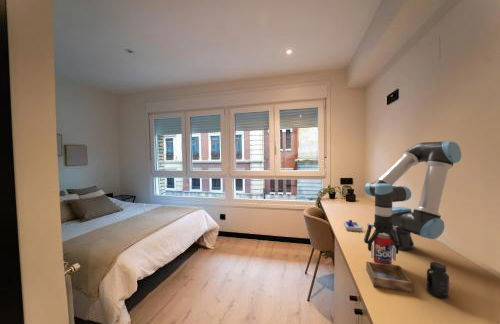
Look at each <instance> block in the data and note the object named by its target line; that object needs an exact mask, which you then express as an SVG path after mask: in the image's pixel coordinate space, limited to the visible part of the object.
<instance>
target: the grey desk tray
mask: <svg viewBox="0 0 500 324" xmlns="http://www.w3.org/2000/svg"><path fill="white" fill-rule="evenodd" d="M348 223H349V220H344V221H343V226H344V227H345V228H344V229H345V231H346V232H347V231H348V232H358V233H362V231H363V230H362V229H363V228H362V226H361V224H360V223H359V221H352V225H354V227H348Z"/></svg>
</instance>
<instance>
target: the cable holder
mask: <svg viewBox="0 0 500 324" xmlns="http://www.w3.org/2000/svg"><path fill="white" fill-rule="evenodd" d="M348 221H349V223H348V227H354V225H352V222H353V220H352V219H348Z"/></svg>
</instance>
